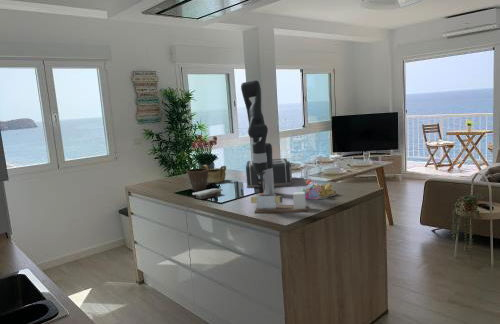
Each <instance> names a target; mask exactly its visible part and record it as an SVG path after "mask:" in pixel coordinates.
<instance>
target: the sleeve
mask: <svg viewBox="0 0 500 324" xmlns="http://www.w3.org/2000/svg"><path fill="white" fill-rule="evenodd" d="M275 196H277V194H276V193H275V194H264V196H261V195H260V194H257V195H256V197H257V203H256V209H258V210H268V209H276V207H277V205H278V203H275Z"/></svg>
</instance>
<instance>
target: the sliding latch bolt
mask: <svg viewBox="0 0 500 324" xmlns="http://www.w3.org/2000/svg"><path fill="white" fill-rule="evenodd" d="M260 183H261V182H260ZM263 191H264V192H263V193H259V195H261V196H264V194H265V190H264V182H263ZM275 203H276V204H278V203H280V204H281V203H283V195H276V196H275ZM250 204H257V196H251V197H250Z"/></svg>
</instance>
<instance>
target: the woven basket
mask: <svg viewBox="0 0 500 324" xmlns="http://www.w3.org/2000/svg"><path fill="white" fill-rule="evenodd" d="M201 168H207V169H208V179H207V184H218V183H219V184H220V183H223V182H224V181H225V180H226V175H227V174H226V170H227V165H221V166H220V168H209V166H208V165H207V164H203V165H202V166H201Z"/></svg>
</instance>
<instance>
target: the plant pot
mask: <svg viewBox="0 0 500 324" xmlns="http://www.w3.org/2000/svg"><path fill="white" fill-rule="evenodd" d="M186 172H187V175H188V179H189V183H190V185H191V187H192V190H193V191H194V192H200V191H204V190H207V185H208V182H207V179H208V169H207V168H202V167H201V168H200V167H199V168H198V167H197V168H192V169H188V170H187V171H186Z"/></svg>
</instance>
